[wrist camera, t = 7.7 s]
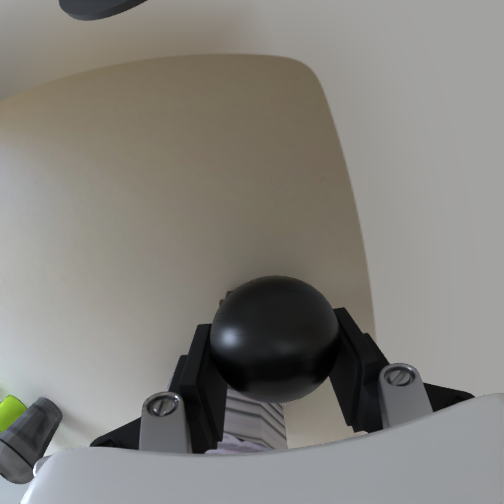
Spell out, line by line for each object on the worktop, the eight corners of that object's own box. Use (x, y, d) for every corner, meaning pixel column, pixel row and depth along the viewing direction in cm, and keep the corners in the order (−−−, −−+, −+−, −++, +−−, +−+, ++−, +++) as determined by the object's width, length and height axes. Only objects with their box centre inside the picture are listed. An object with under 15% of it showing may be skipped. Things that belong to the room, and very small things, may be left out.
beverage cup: (67, 432, 30) (16, 519, 11) (31, 405, 29) (-28, 483, 10) (73, 412, 29) (10, 512, 9) (33, 381, 28) (-40, 467, 8)
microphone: (184, 280, 8) (204, 429, 7) (354, 262, 7) (363, 411, 7) (237, 286, 23) (242, 340, 22) (293, 280, 23) (299, 334, 22)
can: (153, 357, 26) (108, 444, 14) (263, 331, 25) (270, 431, 14) (197, 431, 28) (181, 513, 17) (292, 413, 28) (305, 502, 16)
